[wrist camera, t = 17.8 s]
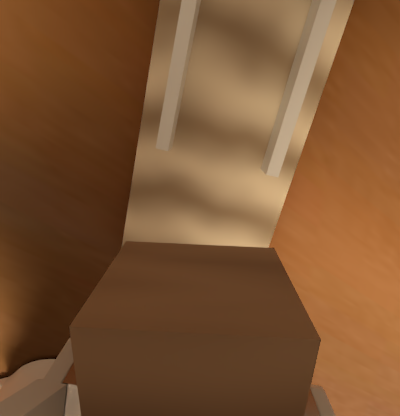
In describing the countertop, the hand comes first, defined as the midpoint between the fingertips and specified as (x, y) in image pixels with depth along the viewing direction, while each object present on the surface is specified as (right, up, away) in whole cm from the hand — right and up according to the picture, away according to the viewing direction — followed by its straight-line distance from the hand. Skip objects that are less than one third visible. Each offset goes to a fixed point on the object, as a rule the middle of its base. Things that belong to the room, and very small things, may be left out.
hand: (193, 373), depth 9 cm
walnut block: (0, +1, +1) cm, 1 cm away
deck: (+3, +15, +15) cm, 22 cm away
